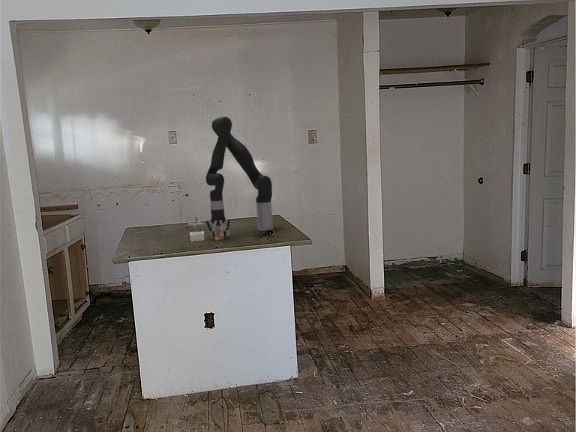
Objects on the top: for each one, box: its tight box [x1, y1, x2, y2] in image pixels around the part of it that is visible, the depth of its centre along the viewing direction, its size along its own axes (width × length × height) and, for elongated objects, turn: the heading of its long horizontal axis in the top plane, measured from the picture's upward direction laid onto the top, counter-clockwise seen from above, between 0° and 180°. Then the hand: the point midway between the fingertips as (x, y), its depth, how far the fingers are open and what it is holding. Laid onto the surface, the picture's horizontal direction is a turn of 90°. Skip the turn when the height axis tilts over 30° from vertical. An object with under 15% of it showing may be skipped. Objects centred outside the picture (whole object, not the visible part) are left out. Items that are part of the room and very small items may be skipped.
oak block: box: [214, 228, 225, 241], centre depth 296 cm, size 5×5×5 cm
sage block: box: [220, 226, 231, 238], centre depth 304 cm, size 5×5×5 cm
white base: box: [189, 230, 205, 242], centre depth 298 cm, size 8×8×4 cm
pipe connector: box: [187, 215, 206, 232], centre depth 317 cm, size 10×10×10 cm
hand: (219, 237), depth 297 cm, fingers closed on oak block, 5 cm apart
